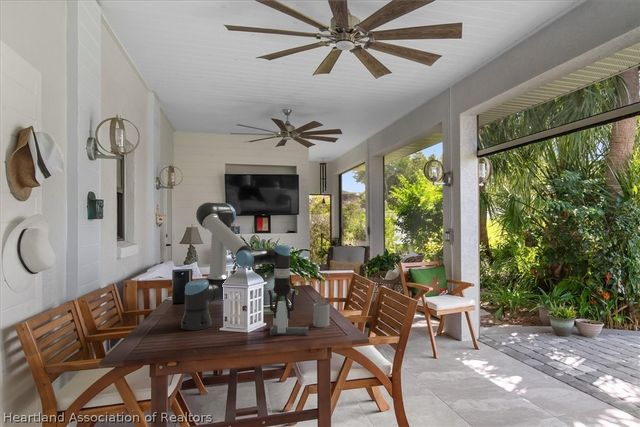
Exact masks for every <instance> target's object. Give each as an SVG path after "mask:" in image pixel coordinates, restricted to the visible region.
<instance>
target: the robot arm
mask: <svg viewBox="0 0 640 427" xmlns="http://www.w3.org/2000/svg"><path fill="white" fill-rule="evenodd" d="M195 218H196V221H197V222H198V224H199V225H200V226H201V227H202V228H203V229H204V230H208V231H209V232H210V233H211V238H210V240H211V242H210V256H209V258H210V259H209V260H210V262H209V274H208V275H206V277H205V278H206V279H203V278H202V279H201V278H200V279H196V280H195V279H194V280H191V281H189V282H187V283H186V284H185V286H184V288H185V289H184V313H183V317H182V319H181V322H180V329H182V330H185V331H201V330H205V329H208V328H211V326H212V323H213V322H212V318H211V315H210V312H209V304H212V303H216V302H221V301H224V300H223V287H222V284H223V283H224V281H225V280H226V279H227V278H228V279H229V276H228V275H227V274H226V271H227V256H228V255H227V254H228V250H229V251H230V252H231V253H232V254H233V256H234V257H235V261H236V264H237V265H238V266H239V267H242V268H243V267H244V268H245V267H252V266H259V265H266V264H271V265H273V266H274V273H273V274H274V278H273V279H274V280H273V281H274V282H273V284H274V285H273V288H270V289H269V290H268V292H267V293H268V295H269V311H270V312H271V311H272V312H273V316H274V318H276V326H277V304H278V302H280V297H284V302H286V326H287V325H288V324H289V323H288V322H289V319H290V318H291V312H292V311H294V310H295V309H294V308H295V306H294V305H295V293H296V289H292V288H291V285H290V284H291V279H290V276H291V265H290V264H291V252H290V251H291V250H290V245H287V244H278V245H277V244H276V245H275V246H274V248H265V247H261V248H257V249H252V248H250V246H248V244H247V243H246V242H244V241H243V240H242V239H241V238H240V237H239V236H237V234H236V233H234V231H232V230H231V229H232V224H234V223H235V221H236V219H237V213H236V210H235V207H233V205H232V204H229V203H226V202H209V201H208V202H204V203H202V204H201V205H199V206H198V208H197V209H196V212H195ZM273 293H275V295H276V298H275V303H274V302H273V299H274V297H273V296H274V295H273ZM289 293H290V294H291V301H290V302H291V306H290V302H289V298H288V294H289ZM273 303H274V304H273ZM288 326H289V325H288Z"/></svg>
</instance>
